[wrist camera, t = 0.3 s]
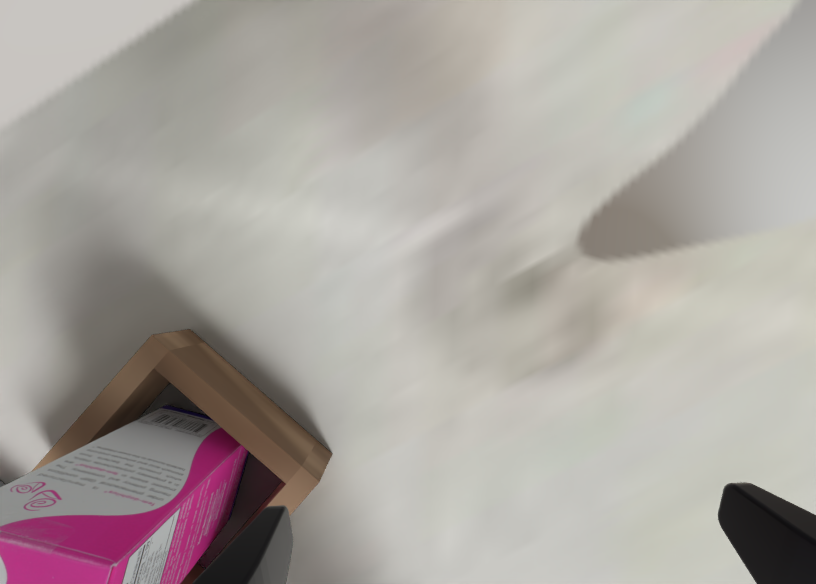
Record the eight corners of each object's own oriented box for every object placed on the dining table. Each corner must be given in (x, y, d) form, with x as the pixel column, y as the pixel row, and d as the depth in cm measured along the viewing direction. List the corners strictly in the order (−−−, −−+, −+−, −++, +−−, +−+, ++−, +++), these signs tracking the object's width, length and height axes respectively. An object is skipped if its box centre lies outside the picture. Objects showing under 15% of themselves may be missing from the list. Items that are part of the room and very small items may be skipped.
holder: (206, 598, 23) (171, 652, 20) (63, 472, 23) (2, 504, 20) (332, 453, 23) (319, 481, 20) (189, 329, 23) (151, 334, 20)
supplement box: (138, 497, 23) (-124, 694, 12) (165, 402, 23) (-68, 505, 12) (231, 523, 23) (61, 746, 12) (258, 428, 23) (115, 557, 12)
